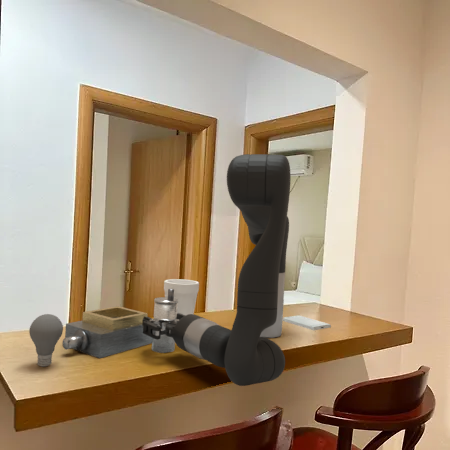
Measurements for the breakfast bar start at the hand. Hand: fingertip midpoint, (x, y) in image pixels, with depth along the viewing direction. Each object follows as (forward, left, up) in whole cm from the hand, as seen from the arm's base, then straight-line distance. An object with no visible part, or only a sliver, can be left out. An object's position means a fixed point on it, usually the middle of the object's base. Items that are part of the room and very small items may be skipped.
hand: (161, 319), depth 97 cm
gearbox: (+8, -9, -6) cm, 14 cm away
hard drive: (-50, +16, -7) cm, 52 cm away
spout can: (+1, +2, -7) cm, 7 cm away
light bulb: (+25, -7, -7) cm, 26 cm away
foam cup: (-15, -7, -7) cm, 18 cm away
